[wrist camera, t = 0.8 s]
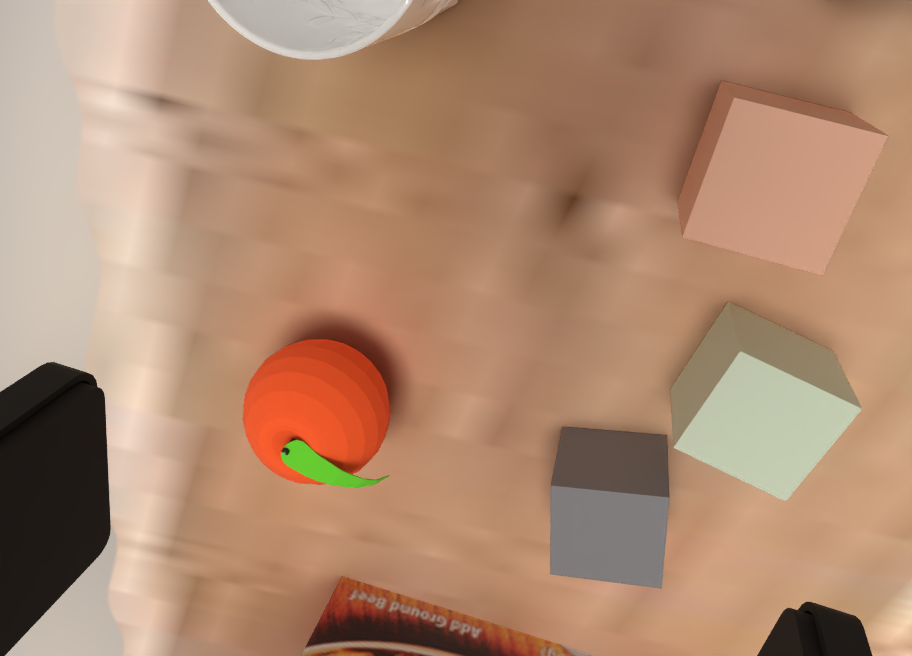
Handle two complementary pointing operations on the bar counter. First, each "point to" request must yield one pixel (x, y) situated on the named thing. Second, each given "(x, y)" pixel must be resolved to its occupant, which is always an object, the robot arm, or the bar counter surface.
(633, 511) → the charcoal block
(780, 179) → the terracotta block
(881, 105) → the bar counter surface
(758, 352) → the sage block
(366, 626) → the pasta box
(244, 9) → the white cup
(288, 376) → the clementine
